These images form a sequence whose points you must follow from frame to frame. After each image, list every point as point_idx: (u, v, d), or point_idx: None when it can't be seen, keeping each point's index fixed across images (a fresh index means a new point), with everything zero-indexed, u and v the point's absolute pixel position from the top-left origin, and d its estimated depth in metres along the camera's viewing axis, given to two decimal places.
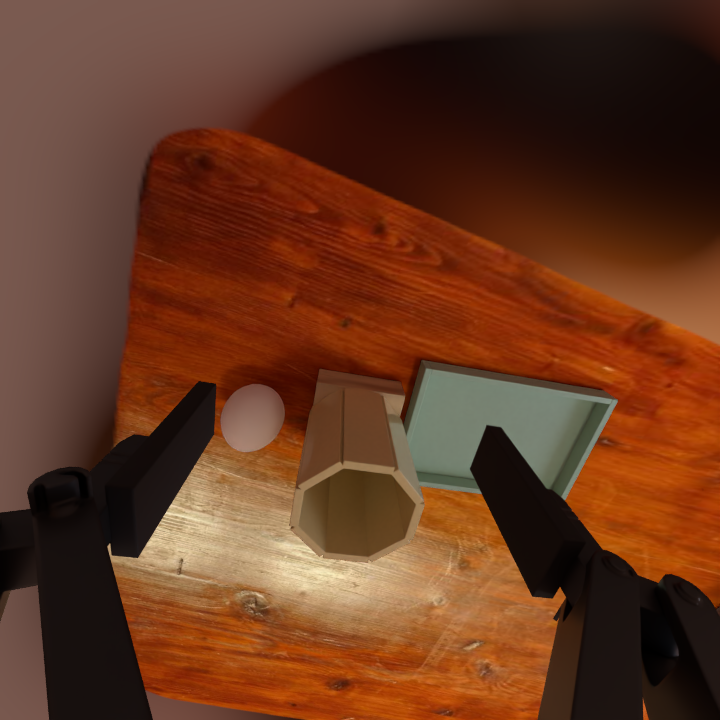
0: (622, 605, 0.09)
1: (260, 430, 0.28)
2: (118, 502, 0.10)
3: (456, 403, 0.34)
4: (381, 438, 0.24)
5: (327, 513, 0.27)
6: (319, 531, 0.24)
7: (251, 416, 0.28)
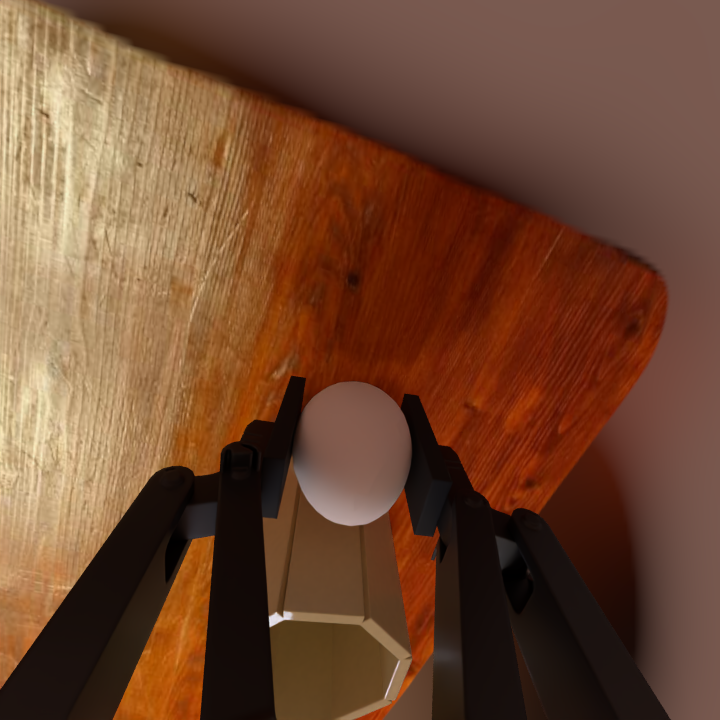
0: (482, 533, 0.11)
1: (367, 522, 0.13)
2: (271, 471, 0.12)
3: None
4: None
5: None
6: None
7: None
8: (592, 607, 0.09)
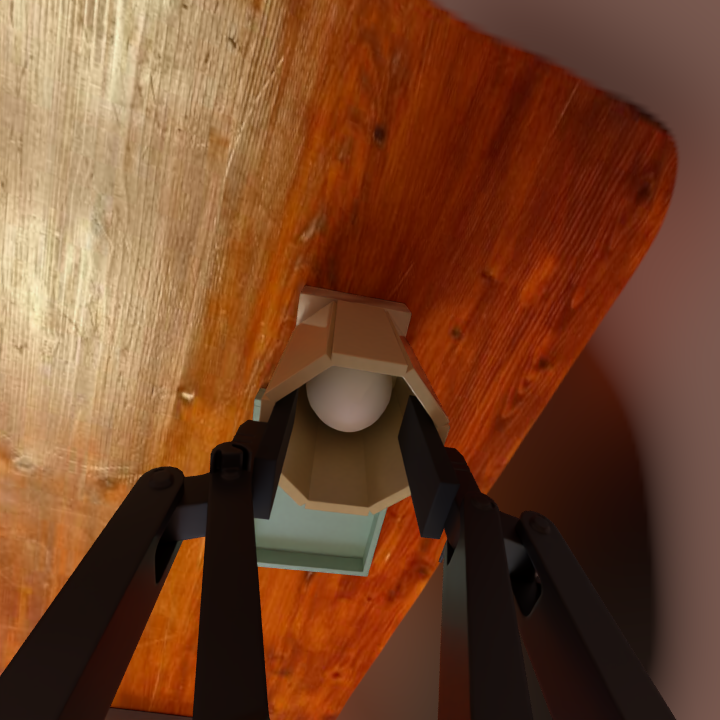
0: (490, 536, 0.11)
1: (360, 429, 0.19)
2: (262, 471, 0.12)
3: None
4: None
5: None
6: None
7: (379, 414, 0.19)
8: (601, 611, 0.09)
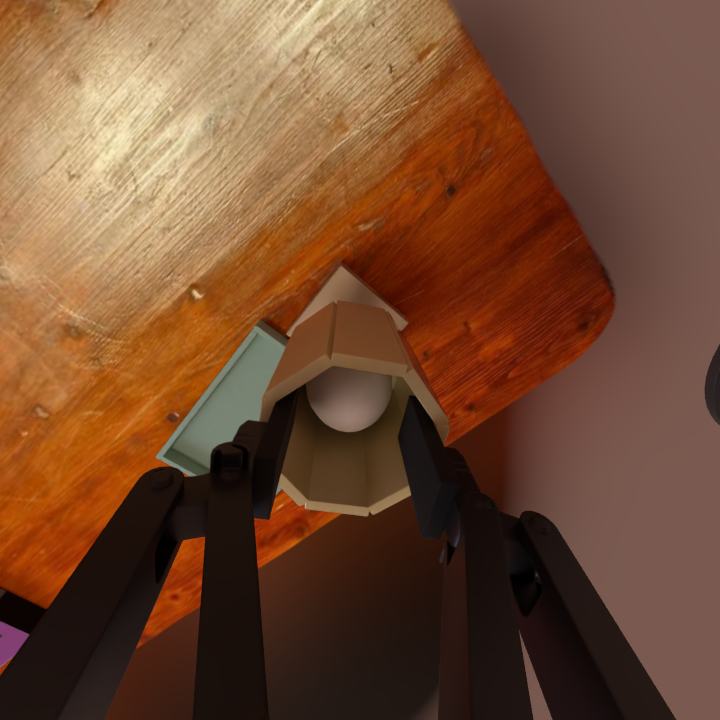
0: (490, 537, 0.11)
1: (359, 429, 0.19)
2: (262, 471, 0.12)
3: None
4: None
5: None
6: None
7: (379, 414, 0.19)
8: (601, 612, 0.09)
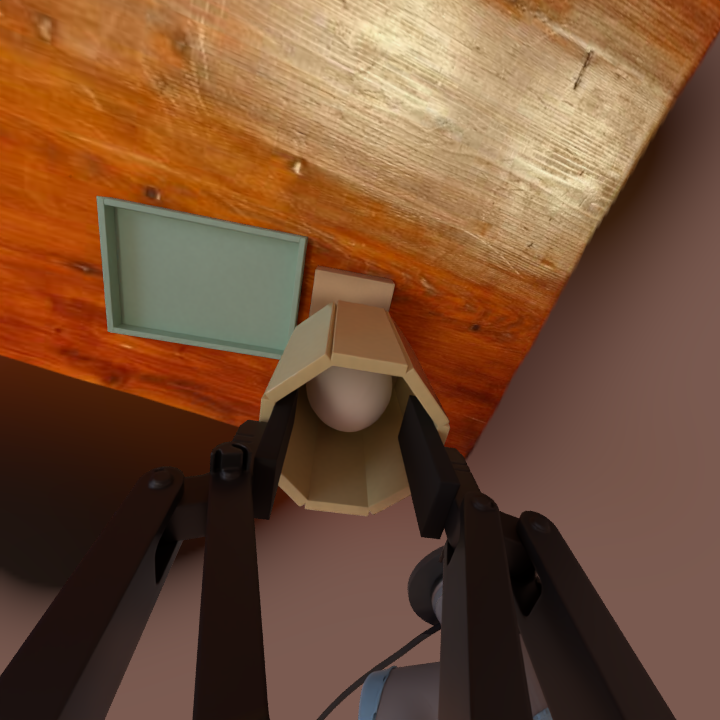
0: (490, 536, 0.11)
1: (360, 429, 0.19)
2: (262, 471, 0.12)
3: (255, 318, 0.38)
4: None
5: None
6: None
7: (379, 414, 0.19)
8: (601, 611, 0.09)
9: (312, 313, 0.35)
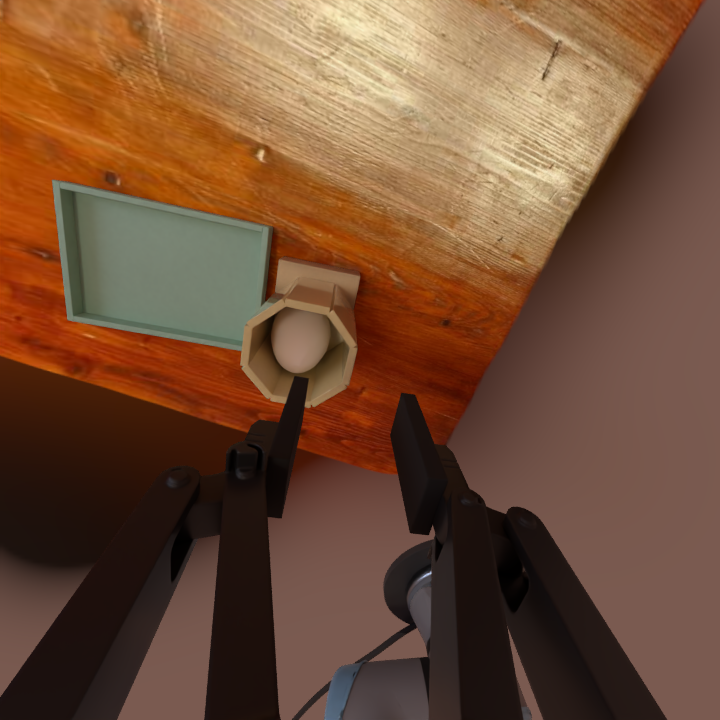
0: (478, 532, 0.11)
1: None
2: (275, 470, 0.12)
3: (220, 309, 0.37)
4: None
5: None
6: None
7: (316, 363, 0.30)
8: (587, 605, 0.09)
9: None
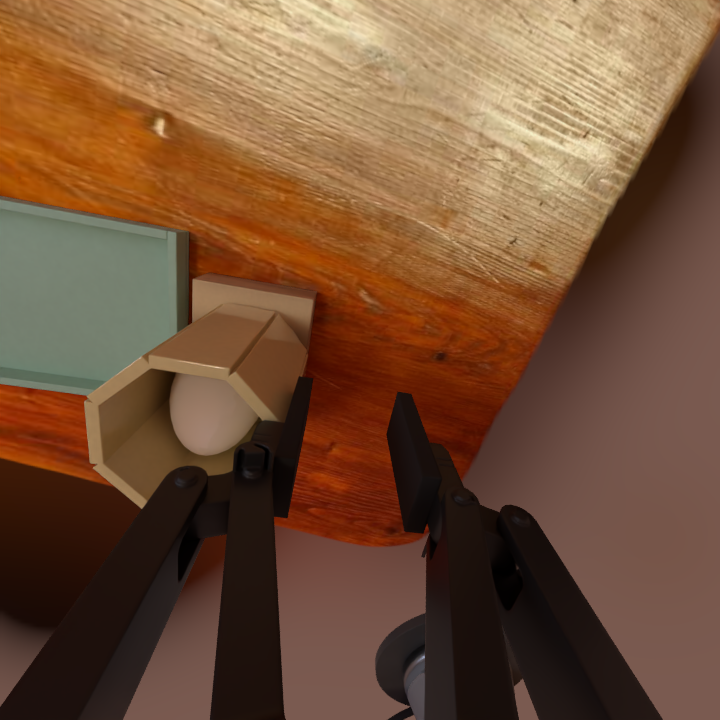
0: (471, 530, 0.11)
1: None
2: (282, 470, 0.12)
3: (125, 348, 0.27)
4: None
5: None
6: None
7: (240, 438, 0.20)
8: (580, 602, 0.09)
9: None
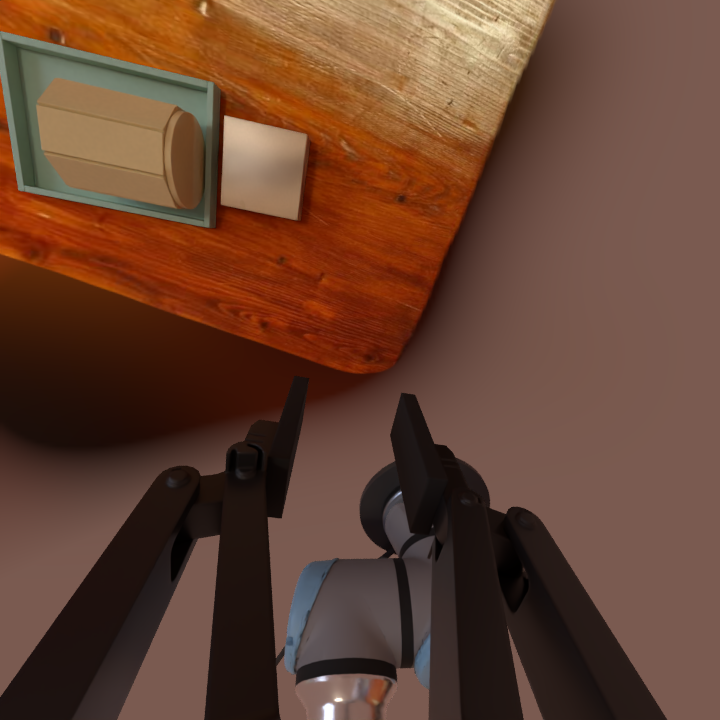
0: (477, 532, 0.11)
1: None
2: (275, 471, 0.12)
3: None
4: (77, 149, 0.29)
5: None
6: None
7: None
8: (587, 605, 0.09)
9: (225, 167, 0.35)
